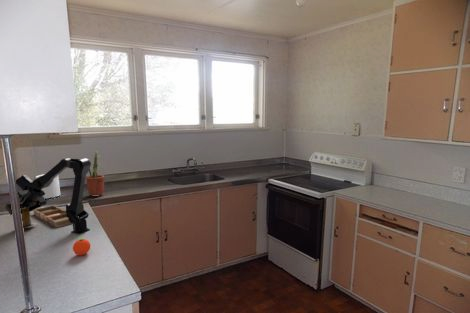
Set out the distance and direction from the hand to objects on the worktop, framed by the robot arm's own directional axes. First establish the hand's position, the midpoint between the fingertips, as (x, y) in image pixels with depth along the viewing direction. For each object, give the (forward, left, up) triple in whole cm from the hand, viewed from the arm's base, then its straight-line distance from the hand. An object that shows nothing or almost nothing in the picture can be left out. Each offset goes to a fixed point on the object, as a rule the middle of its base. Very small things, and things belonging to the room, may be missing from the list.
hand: (21, 213), depth 161 cm
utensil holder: (+46, -49, -8) cm, 67 cm away
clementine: (-58, +12, -8) cm, 60 cm away
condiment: (-2, 0, -7) cm, 7 cm away
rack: (-2, -18, -8) cm, 20 cm away
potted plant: (+15, -62, -8) cm, 64 cm away
